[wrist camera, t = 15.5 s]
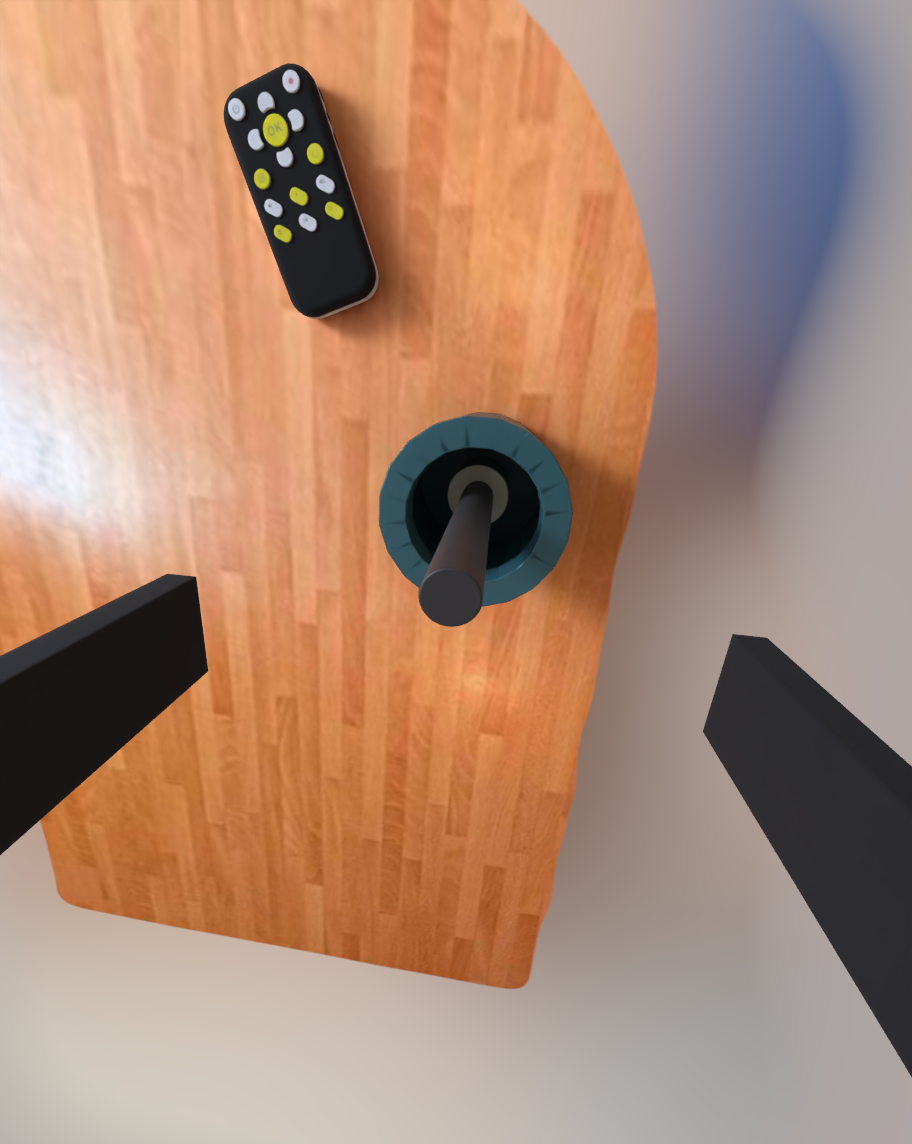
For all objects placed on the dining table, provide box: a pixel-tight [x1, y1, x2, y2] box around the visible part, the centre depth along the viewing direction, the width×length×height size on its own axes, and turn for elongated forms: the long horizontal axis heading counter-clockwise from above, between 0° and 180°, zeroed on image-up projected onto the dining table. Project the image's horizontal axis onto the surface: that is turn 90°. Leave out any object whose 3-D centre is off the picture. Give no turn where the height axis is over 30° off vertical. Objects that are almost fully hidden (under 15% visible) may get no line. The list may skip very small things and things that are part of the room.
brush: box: [419, 457, 509, 627], centre depth 25 cm, size 4×4×22 cm
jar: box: [379, 412, 573, 607], centre depth 30 cm, size 10×10×12 cm
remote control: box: [224, 64, 379, 319], centre depth 30 cm, size 6×13×2 cm, turn 18°
